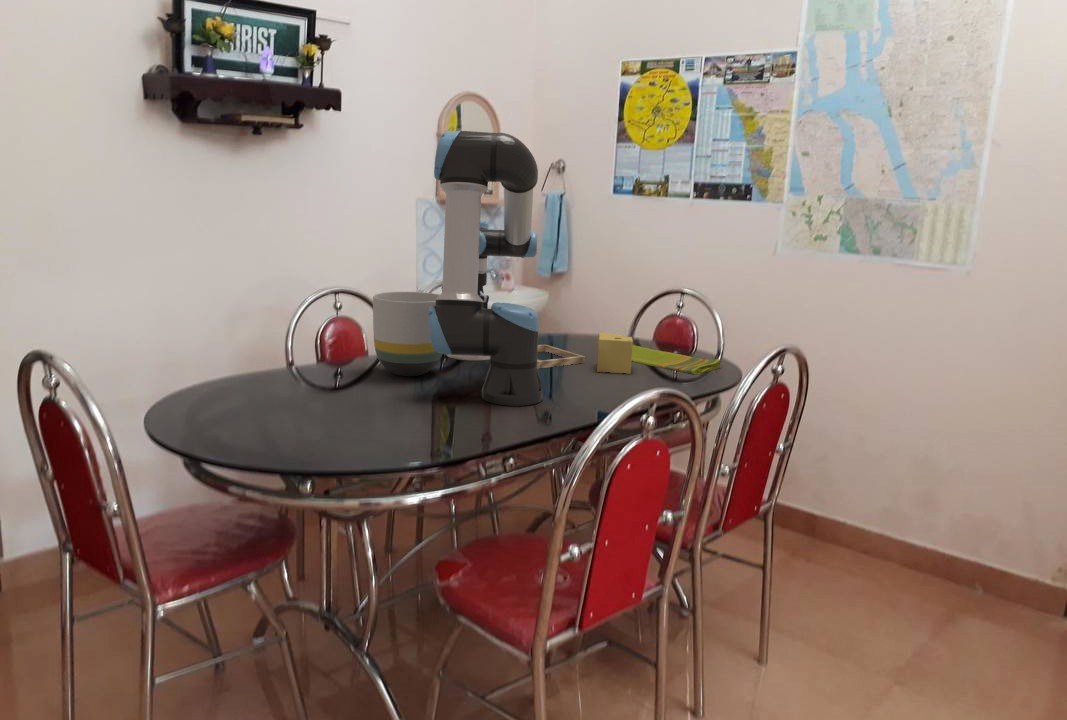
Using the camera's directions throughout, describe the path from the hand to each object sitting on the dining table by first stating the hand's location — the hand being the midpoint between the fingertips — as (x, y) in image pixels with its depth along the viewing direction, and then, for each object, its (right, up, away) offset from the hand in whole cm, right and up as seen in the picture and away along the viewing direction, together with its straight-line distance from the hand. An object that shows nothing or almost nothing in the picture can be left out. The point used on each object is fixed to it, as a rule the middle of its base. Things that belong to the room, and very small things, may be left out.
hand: (472, 348), depth 256 cm
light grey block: (+19, -5, -9) cm, 22 cm away
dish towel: (+57, -5, +4) cm, 58 cm away
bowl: (0, -2, 0) cm, 2 cm away
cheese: (+42, -7, -11) cm, 44 cm away
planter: (-15, -8, -27) cm, 32 cm away
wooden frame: (+21, -3, -1) cm, 21 cm away
